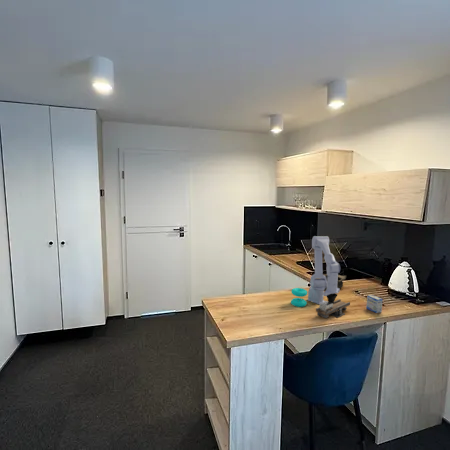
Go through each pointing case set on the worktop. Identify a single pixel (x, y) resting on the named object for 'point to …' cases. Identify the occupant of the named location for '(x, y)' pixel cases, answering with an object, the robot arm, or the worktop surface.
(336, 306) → the beam
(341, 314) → the pivot stand
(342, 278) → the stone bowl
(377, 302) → the medicine box
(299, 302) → the donuts
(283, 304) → the worktop surface
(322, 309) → the block
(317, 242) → the robot arm
